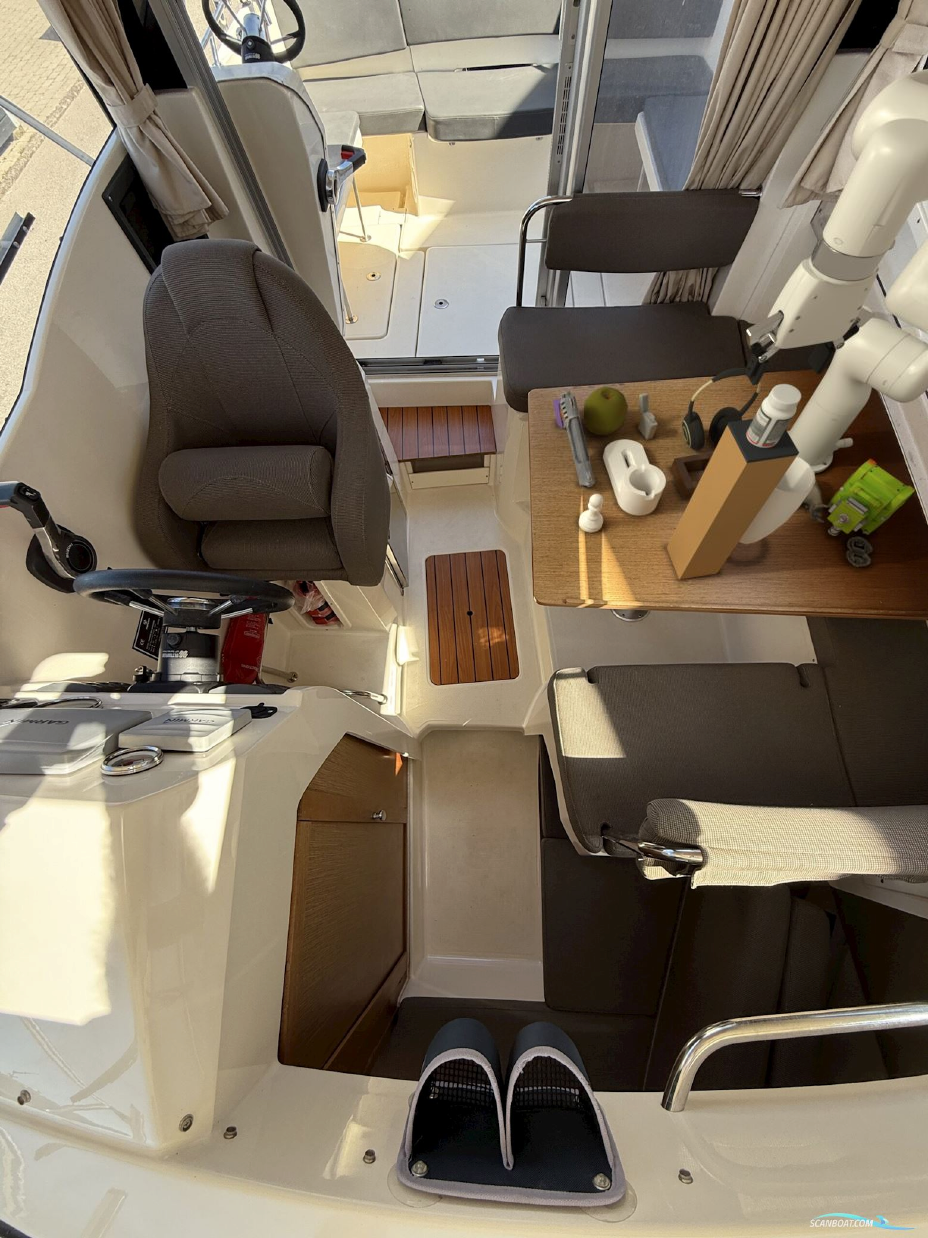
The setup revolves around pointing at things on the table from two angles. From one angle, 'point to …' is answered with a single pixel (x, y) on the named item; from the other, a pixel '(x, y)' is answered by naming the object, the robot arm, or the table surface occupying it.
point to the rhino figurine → (815, 503)
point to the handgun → (574, 436)
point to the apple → (605, 410)
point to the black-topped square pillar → (727, 499)
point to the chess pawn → (592, 515)
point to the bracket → (633, 477)
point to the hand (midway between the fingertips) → (782, 373)
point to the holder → (681, 474)
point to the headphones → (694, 425)
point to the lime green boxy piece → (866, 500)
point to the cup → (782, 501)
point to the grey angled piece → (646, 417)
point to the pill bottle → (773, 416)
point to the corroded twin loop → (859, 551)
